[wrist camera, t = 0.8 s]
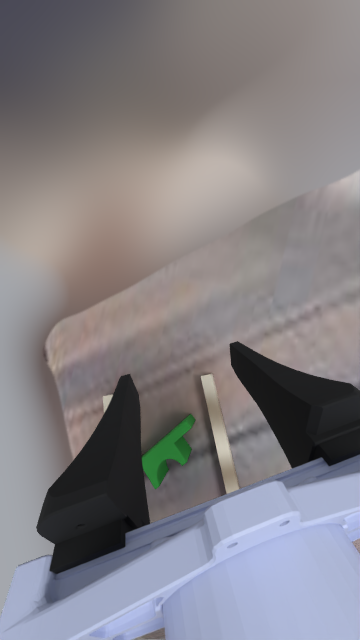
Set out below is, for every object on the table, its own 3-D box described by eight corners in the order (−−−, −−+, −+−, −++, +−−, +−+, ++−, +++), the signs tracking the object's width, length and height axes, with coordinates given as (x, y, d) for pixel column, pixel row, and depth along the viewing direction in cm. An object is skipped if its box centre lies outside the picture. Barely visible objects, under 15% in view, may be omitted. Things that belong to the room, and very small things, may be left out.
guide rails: (264, 592, 22) (269, 619, 20) (131, 598, 25) (122, 622, 22) (212, 373, 29) (211, 374, 26) (111, 394, 31) (102, 396, 29)
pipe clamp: (150, 485, 27) (137, 505, 23) (136, 461, 28) (121, 476, 24) (207, 435, 27) (204, 446, 23) (191, 413, 28) (185, 420, 24)
